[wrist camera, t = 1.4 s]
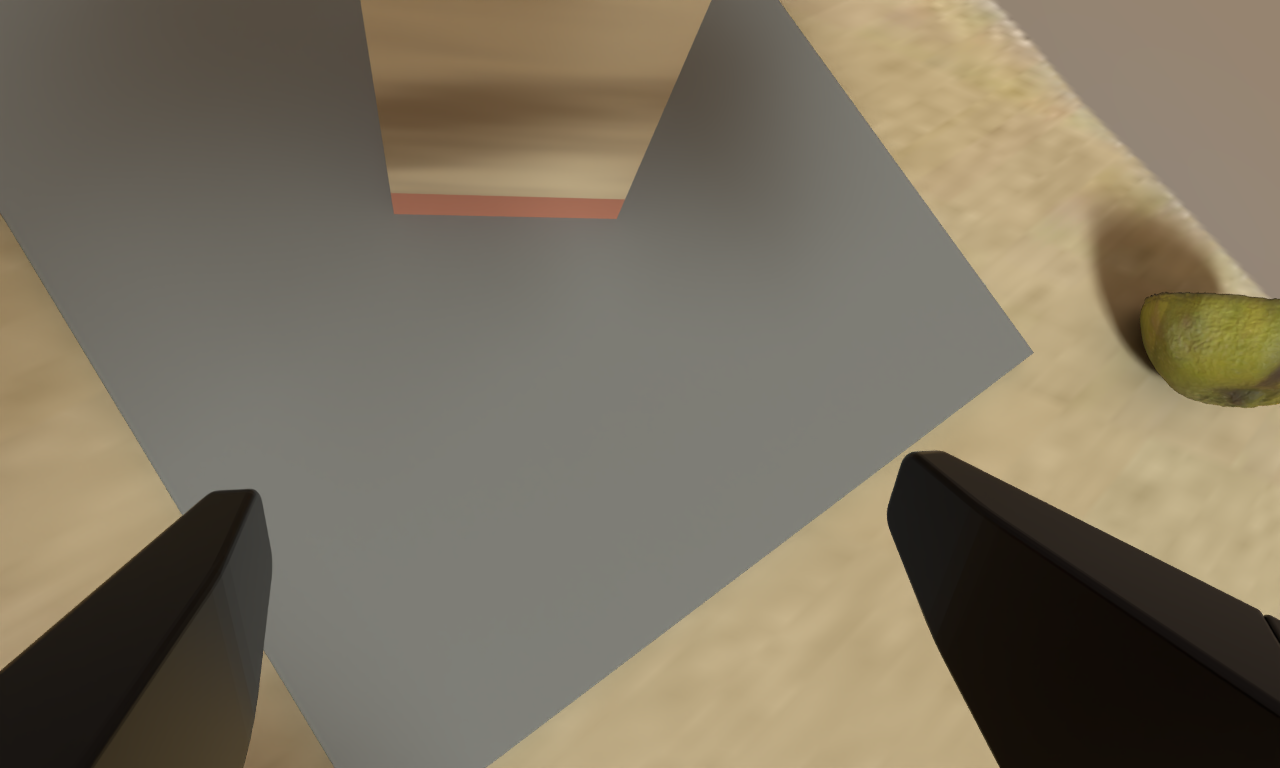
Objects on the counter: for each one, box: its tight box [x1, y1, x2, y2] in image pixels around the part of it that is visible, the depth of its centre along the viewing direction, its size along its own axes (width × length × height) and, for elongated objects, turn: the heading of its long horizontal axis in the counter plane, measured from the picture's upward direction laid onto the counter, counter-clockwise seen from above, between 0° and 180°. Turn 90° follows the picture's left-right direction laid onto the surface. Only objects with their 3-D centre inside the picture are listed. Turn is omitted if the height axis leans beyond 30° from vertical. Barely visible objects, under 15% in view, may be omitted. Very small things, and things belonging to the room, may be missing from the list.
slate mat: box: [0, 0, 1034, 768], centre depth 23 cm, size 26×22×1 cm
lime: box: [1140, 292, 1280, 408], centre depth 24 cm, size 4×5×5 cm
